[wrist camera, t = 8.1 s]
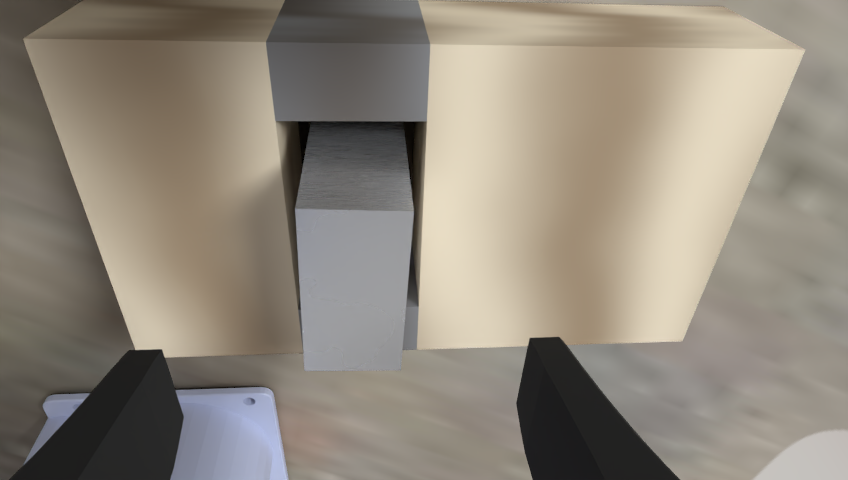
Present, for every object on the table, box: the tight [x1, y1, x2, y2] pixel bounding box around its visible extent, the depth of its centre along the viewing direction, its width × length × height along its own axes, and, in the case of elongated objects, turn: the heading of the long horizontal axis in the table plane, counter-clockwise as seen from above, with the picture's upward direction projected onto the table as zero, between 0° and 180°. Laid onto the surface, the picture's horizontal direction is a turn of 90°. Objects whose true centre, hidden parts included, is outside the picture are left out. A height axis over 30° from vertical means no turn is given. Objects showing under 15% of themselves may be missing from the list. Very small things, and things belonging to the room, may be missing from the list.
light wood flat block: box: [23, 0, 805, 357], centre depth 18 cm, size 18×10×4 cm, turn 88°
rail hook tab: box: [295, 121, 414, 371], centre depth 17 cm, size 2×5×7 cm, turn 175°
